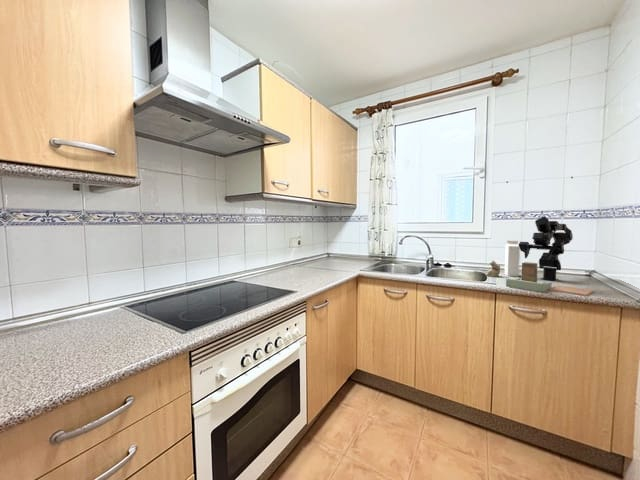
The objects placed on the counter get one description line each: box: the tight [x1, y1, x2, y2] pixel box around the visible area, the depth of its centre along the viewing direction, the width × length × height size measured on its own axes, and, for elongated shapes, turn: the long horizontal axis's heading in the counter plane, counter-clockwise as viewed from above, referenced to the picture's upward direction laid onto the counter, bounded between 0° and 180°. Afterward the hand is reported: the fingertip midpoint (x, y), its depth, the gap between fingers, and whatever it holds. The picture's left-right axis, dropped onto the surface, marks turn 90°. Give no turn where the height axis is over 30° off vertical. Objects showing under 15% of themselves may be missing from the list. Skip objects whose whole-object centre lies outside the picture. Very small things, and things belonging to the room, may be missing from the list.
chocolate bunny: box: [485, 260, 501, 278], centre depth 166 cm, size 6×8×10 cm
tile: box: [548, 284, 595, 297], centre depth 128 cm, size 13×13×1 cm
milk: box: [504, 240, 521, 278], centre depth 166 cm, size 6×6×22 cm
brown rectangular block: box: [521, 261, 539, 283], centre depth 137 cm, size 5×5×12 cm
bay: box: [505, 277, 553, 293], centre depth 137 cm, size 14×15×4 cm
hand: (535, 258), depth 141 cm, fingers open, 9 cm apart
